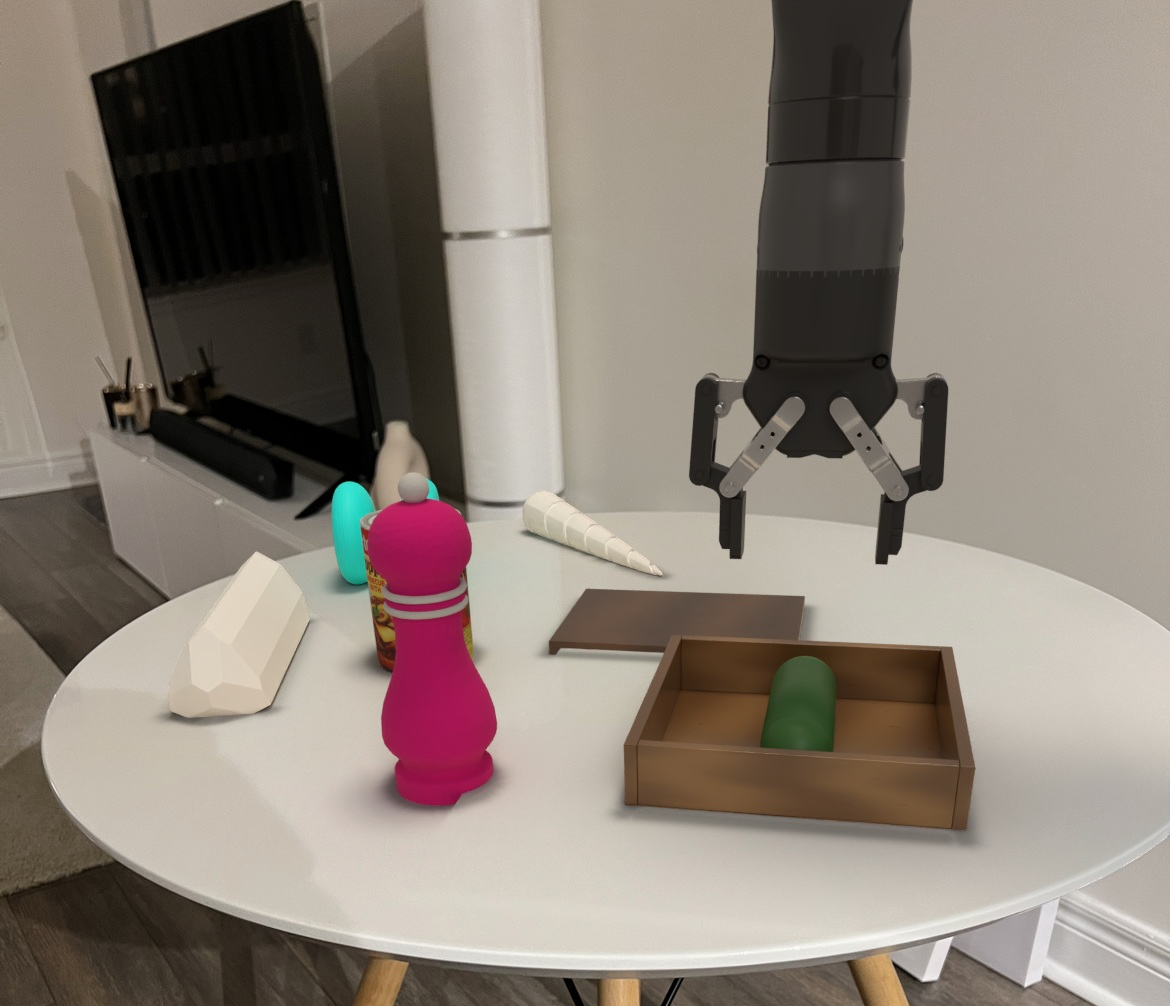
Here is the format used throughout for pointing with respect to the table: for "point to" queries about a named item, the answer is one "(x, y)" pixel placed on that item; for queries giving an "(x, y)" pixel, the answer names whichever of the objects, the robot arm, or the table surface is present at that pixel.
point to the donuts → (354, 528)
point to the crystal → (241, 644)
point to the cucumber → (801, 707)
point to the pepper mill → (430, 650)
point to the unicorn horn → (579, 531)
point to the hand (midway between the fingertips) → (808, 558)
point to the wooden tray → (798, 777)
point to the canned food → (384, 620)
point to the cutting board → (673, 619)
